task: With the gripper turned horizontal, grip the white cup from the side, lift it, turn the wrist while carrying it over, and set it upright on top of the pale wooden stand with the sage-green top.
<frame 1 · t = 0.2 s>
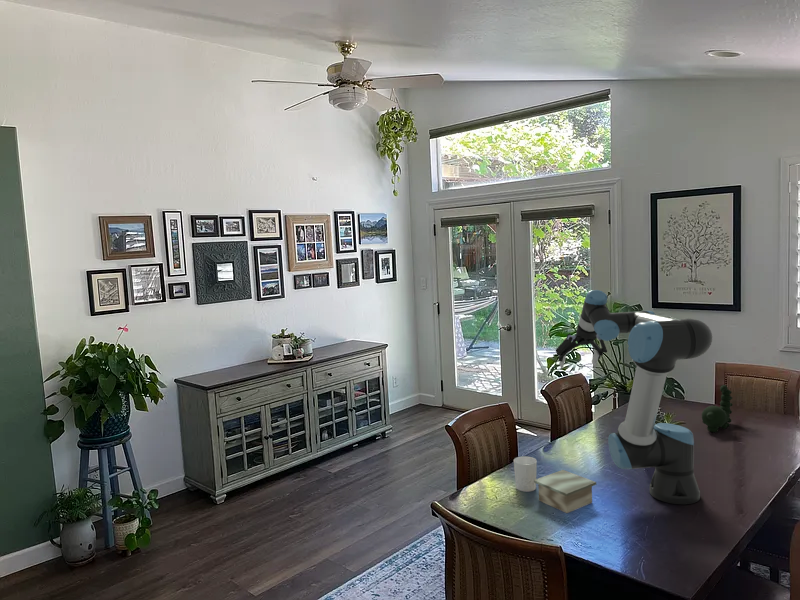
hand: (577, 364, 237), 35 cm above the table, tool tilted 35°, fingers open, 13 cm apart
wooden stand: (565, 501, 194), on the table
white cup: (526, 488, 206), on the table
green lumpy piece: (718, 428, 257), on the table
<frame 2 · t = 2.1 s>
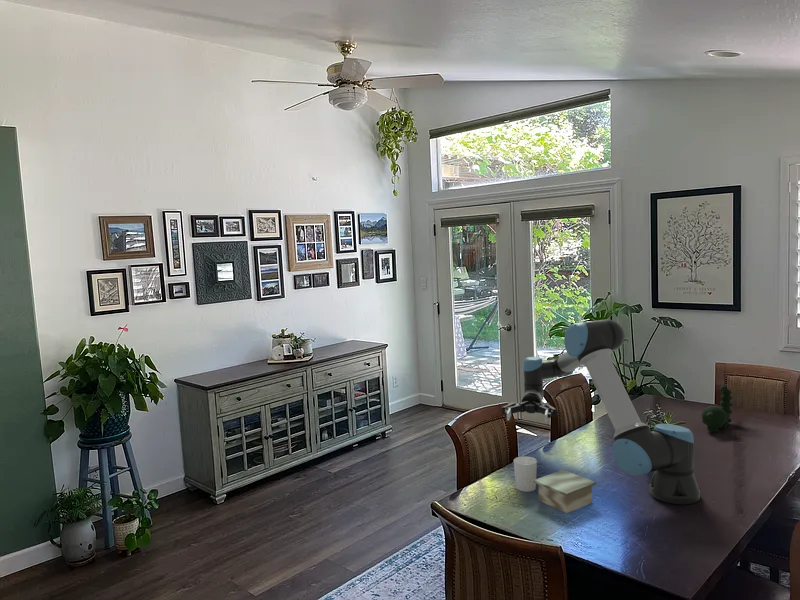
hand: (526, 417, 213), 22 cm above the table, tool horizontal, fingers open, 13 cm apart
nothing on the table moved.
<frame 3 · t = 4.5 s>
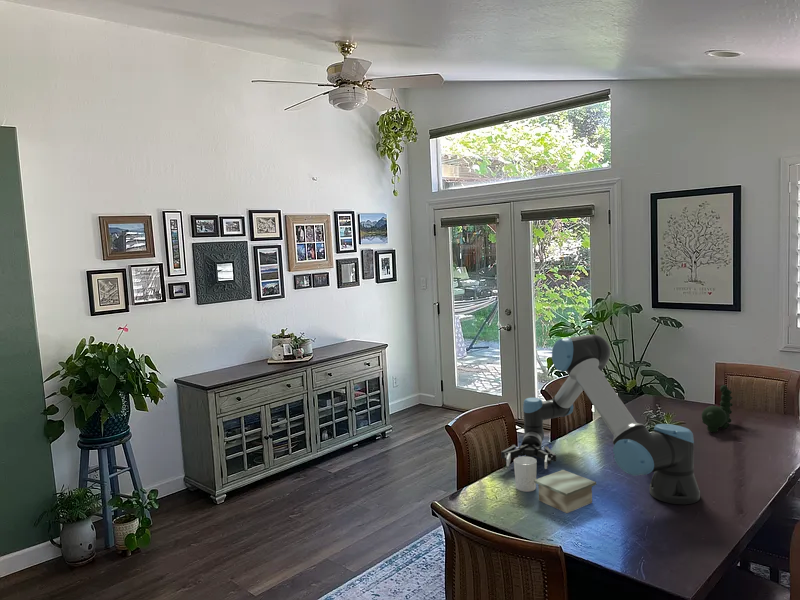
hand: (526, 464, 212), 6 cm above the table, tool horizontal, fingers open, 13 cm apart
nothing on the table moved.
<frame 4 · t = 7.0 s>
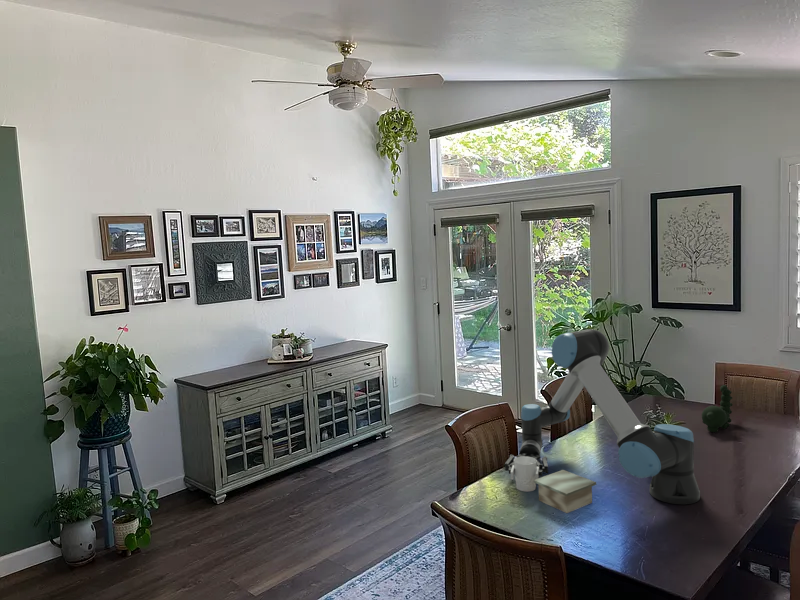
hand: (524, 476, 201), 6 cm above the table, tool horizontal, fingers closed on white cup, 8 cm apart
white cup: (526, 488, 206), on the table, touching gripper
everything else where it was.
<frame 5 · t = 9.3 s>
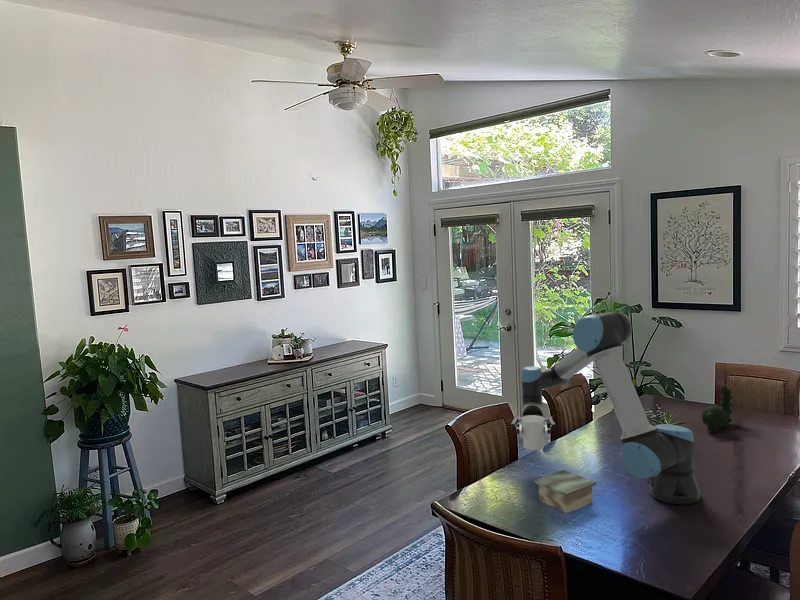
hand: (533, 434, 196), 22 cm above the table, tool horizontal, fingers closed on white cup, 8 cm apart
white cup: (533, 447, 201), point 16 cm above the table, touching gripper
everything else where it was.
when the fingers open (14 cm above the table, at t = 11.8 s): white cup drops 1 cm, resting on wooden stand.
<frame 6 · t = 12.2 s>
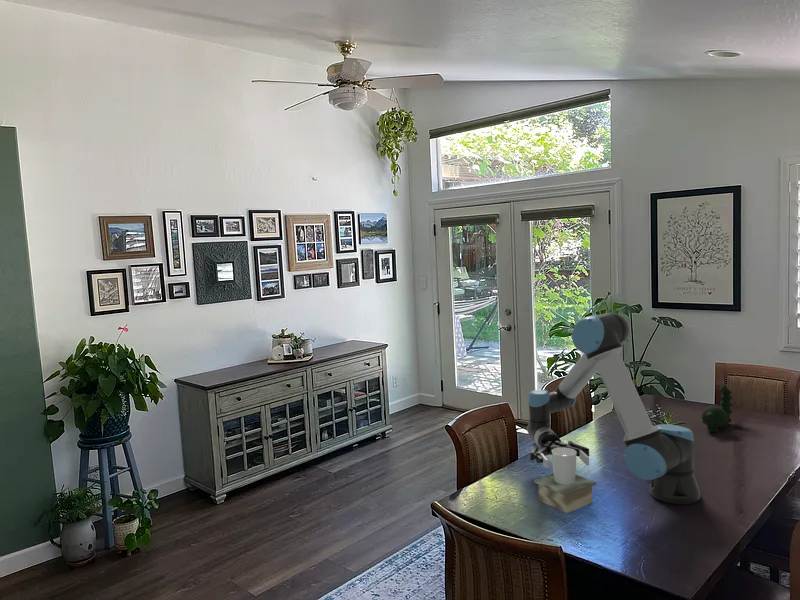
hand: (567, 462, 189), 14 cm above the table, tool horizontal, fingers open, 13 cm apart
white cup: (564, 481, 193), point 7 cm above the table, touching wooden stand
everything else where it was.
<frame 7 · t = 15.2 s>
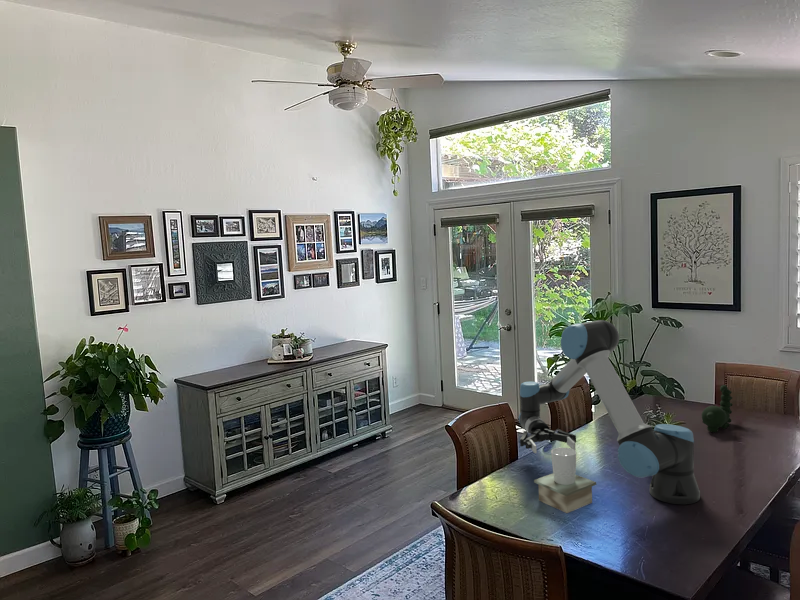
hand: (554, 448, 202), 15 cm above the table, tool horizontal, fingers open, 13 cm apart
nothing on the table moved.
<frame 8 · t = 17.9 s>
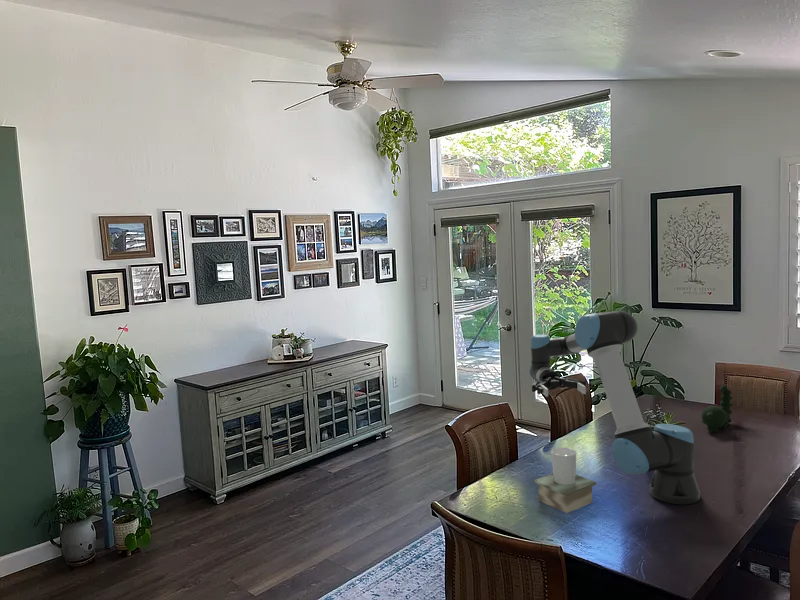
hand: (566, 391, 209), 32 cm above the table, tool horizontal, fingers open, 13 cm apart
nothing on the table moved.
at the end: white cup inside the target area on the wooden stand (0.1 cm from its centre), point 6.8 cm above the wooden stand's base; white cup tilted 0°; the gripper is holding nothing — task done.
